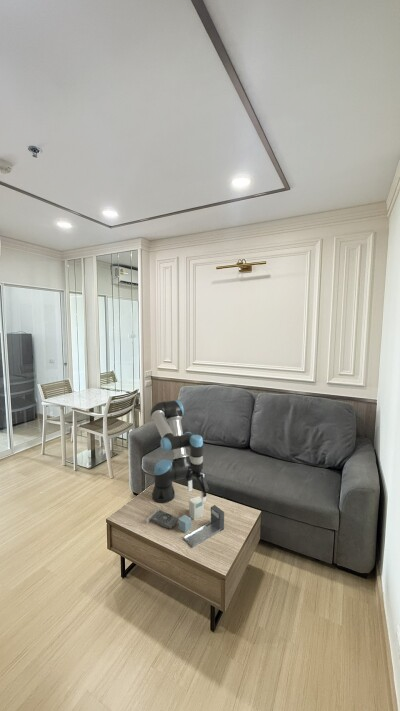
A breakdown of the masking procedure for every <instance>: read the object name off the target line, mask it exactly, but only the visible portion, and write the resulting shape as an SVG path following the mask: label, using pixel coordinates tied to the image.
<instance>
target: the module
mask: <svg viewBox="0 0 400 711" xmlns="http://www.w3.org/2000/svg"><path fill="white" fill-rule="evenodd" d="M188 501H189V502H188V503H189V506H188V507H189V516H188V517H190V518H191V519H193V520H194V521H195V520H197V519H199V518H201V517H203V516H204V512H205V509H204V508H205V505H204V504H205V501H204V502H202V496H199V495H198V496H194V497H193V498H191V499H189V500H188Z"/></svg>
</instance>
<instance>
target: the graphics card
mask: <svg viewBox="0 0 400 711" xmlns="http://www.w3.org/2000/svg"><path fill="white" fill-rule="evenodd" d="M179 519H180V517H178V516H175V515H173V514H170V513H168V512H166V511H163V510H162V509H160V508H159V507H157V508H156V510H154V512H153V513H152V514H150V515H149V516H148V517H146V520H145V521H146V525H147V524H149V523H153V524H158V525H159V526H162V527H164V528H166V529H173V527H175V526H177V523H178V522H179Z"/></svg>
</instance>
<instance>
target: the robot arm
mask: <svg viewBox="0 0 400 711" xmlns="http://www.w3.org/2000/svg"><path fill="white" fill-rule="evenodd" d="M184 414H185V408H184V405H183V403H182V402H181V401H180V400H179V399H178V400H174V399H173V400H166V401H159V402H156V403H155V404H154V405H153V406H152V408H151V409H150V414H149V415H150V419H151V421H152V422H154V424H155V426H156V428H157V430H158V433H159V435H160V437H161V439H160V447H161V450H162V451H163V452H165V451H172V450H173V458H172V461H171V459H163V460H160V461H158V462H157V463H156V464H154V467H153V468H154V470H153V473H154V474H153V476H154V481H153V482H154V487H153V491H152V493H151V499H152V501H153V502H155V503H158V504H166V503H170V502H172V500H174V499H175V497H176V494H175V493H176V492H175V490H174V486H173V482H175V481H178V480H182V479H186V481H187V492H188V493H189V492H192V491H193V478H195V479H196V480H197V481H198V483H199V485H200V487H201V498H202V502H204V503H205V502H206V501H207V492H209V491H210V488H209V486H208V481H207V477H206V473H205V472H204V473H203V472H202V470H203V468H204V440H203V436H201V435H199V434H194V433H192V432H191V431H186V432H183V426H182V419H183V416H184ZM186 448H189V454H187V450H186Z"/></svg>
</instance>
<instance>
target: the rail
mask: <svg viewBox="0 0 400 711" xmlns="http://www.w3.org/2000/svg"><path fill="white" fill-rule="evenodd" d="M224 530H225V512H224V510H222V509H221V508H219V507H218V506H217V505H215V504H214V505H212V506H210V521H209V522H207V523H206V524H204V525H202V526H200V527H198V528H196V529H194V530H192V531H191V532H189V533H186V534H184V535H183V540H185V542H186V543H187V544H189V546H190V547H191V548H192V549H193V548H195V547H196V546H198V545H199V544H201V543H203V542H205V541H206V540H208V539H210V538H211V537H213V536H215V535H217V534H218V533H221V531H224Z"/></svg>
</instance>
